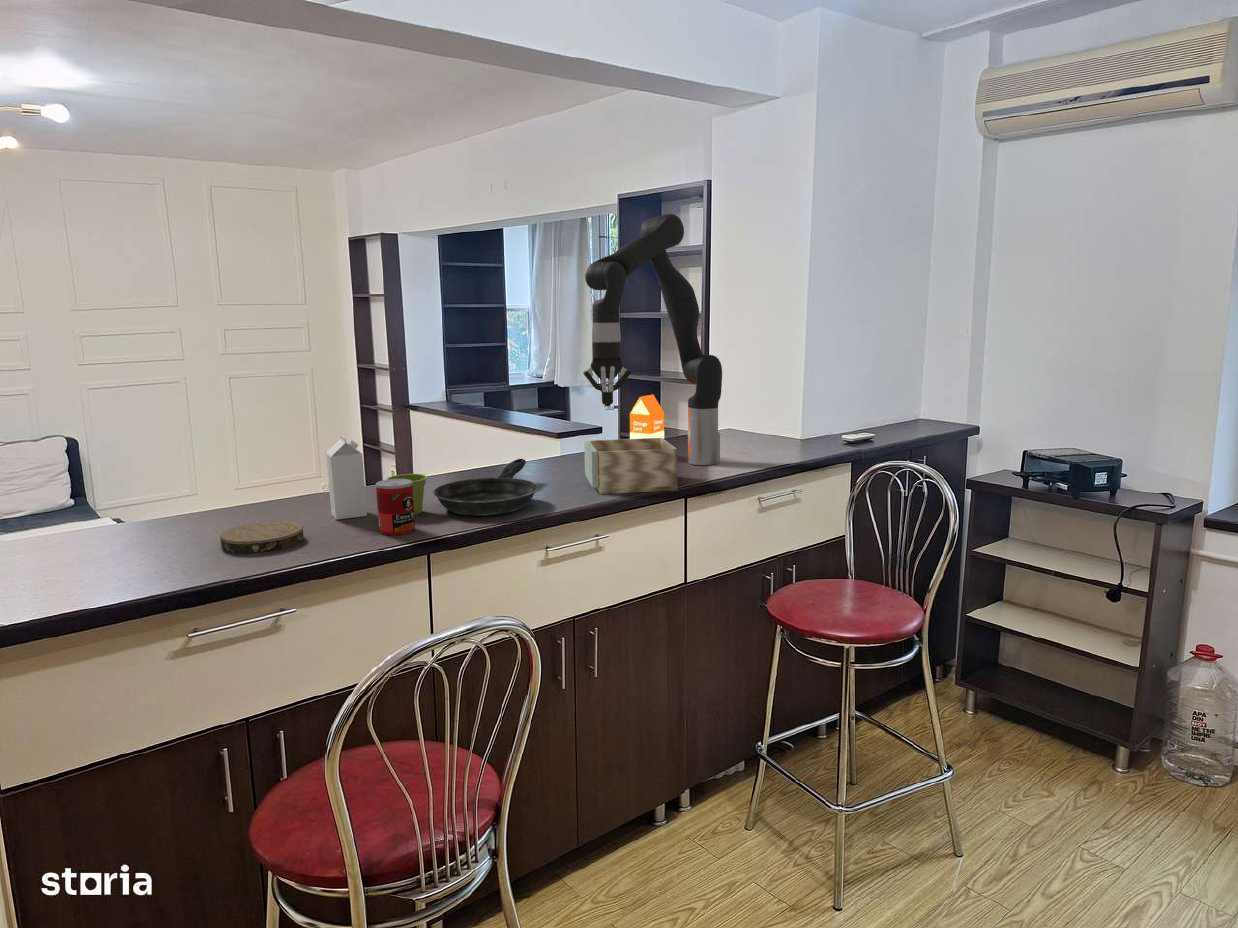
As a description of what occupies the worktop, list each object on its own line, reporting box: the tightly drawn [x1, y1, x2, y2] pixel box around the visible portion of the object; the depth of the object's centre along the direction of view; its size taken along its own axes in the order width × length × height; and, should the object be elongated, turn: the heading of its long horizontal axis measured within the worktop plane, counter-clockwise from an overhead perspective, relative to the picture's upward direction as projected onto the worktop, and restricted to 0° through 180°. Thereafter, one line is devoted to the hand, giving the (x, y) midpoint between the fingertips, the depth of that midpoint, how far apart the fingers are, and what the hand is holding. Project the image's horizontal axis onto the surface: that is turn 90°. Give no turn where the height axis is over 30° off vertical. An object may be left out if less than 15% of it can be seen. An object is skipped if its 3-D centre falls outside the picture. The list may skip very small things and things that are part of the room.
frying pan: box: [433, 458, 539, 517], centre depth 208 cm, size 44×25×7 cm, turn 168°
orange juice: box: [629, 394, 665, 440], centre depth 261 cm, size 8×9×20 cm
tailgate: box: [583, 440, 598, 488], centre depth 220 cm, size 2×17×9 cm, turn 9°
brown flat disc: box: [219, 520, 305, 555], centre depth 171 cm, size 16×16×3 cm
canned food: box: [375, 478, 416, 536], centre depth 178 cm, size 8×8×11 cm
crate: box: [589, 438, 678, 495], centre depth 222 cm, size 20×20×11 cm
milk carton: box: [325, 434, 368, 520], centre depth 192 cm, size 7×7×19 cm
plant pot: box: [385, 473, 428, 516], centre depth 194 cm, size 9×9×9 cm
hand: (607, 405), depth 218 cm, fingers closed
